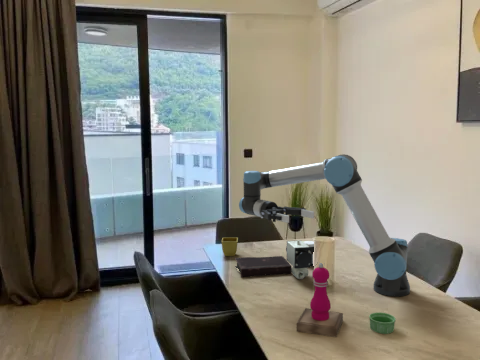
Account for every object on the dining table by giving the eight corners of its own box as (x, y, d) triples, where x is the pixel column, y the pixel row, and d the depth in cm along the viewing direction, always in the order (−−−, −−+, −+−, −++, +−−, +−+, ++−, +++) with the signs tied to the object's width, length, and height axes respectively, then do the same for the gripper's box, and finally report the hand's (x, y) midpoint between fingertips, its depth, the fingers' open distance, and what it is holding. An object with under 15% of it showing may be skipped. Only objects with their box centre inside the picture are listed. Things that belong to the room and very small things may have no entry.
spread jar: (298, 262, 245) (298, 240, 244) (318, 260, 247) (319, 239, 246) (306, 269, 233) (306, 246, 232) (327, 267, 236) (328, 245, 234)
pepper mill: (326, 323, 163) (326, 267, 160) (306, 318, 167) (307, 264, 164) (333, 315, 169) (334, 262, 166) (314, 311, 173) (315, 259, 170)
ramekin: (381, 336, 159) (381, 324, 159) (363, 326, 167) (363, 315, 167) (400, 331, 163) (401, 319, 163) (382, 322, 171) (383, 310, 171)
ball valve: (314, 282, 214) (314, 244, 211) (296, 283, 212) (296, 245, 210) (301, 270, 231) (302, 235, 229) (285, 271, 230) (285, 236, 227)
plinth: (342, 320, 172) (343, 312, 172) (336, 337, 159) (336, 328, 159) (305, 315, 177) (305, 307, 177) (296, 330, 164) (296, 322, 164)
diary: (291, 275, 226) (291, 265, 225) (241, 279, 221) (241, 268, 221) (281, 263, 244) (281, 254, 244) (234, 266, 240) (234, 257, 239)
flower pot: (237, 257, 254) (237, 241, 253) (221, 257, 255) (221, 241, 254) (237, 253, 263) (237, 237, 262) (222, 253, 263) (222, 237, 262)
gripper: (287, 214, 208) (323, 222, 191) (243, 221, 193) (277, 231, 176) (287, 197, 207) (323, 204, 190) (243, 204, 192) (277, 211, 175)
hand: (301, 217), depth 183 cm, fingers open, 13 cm apart
